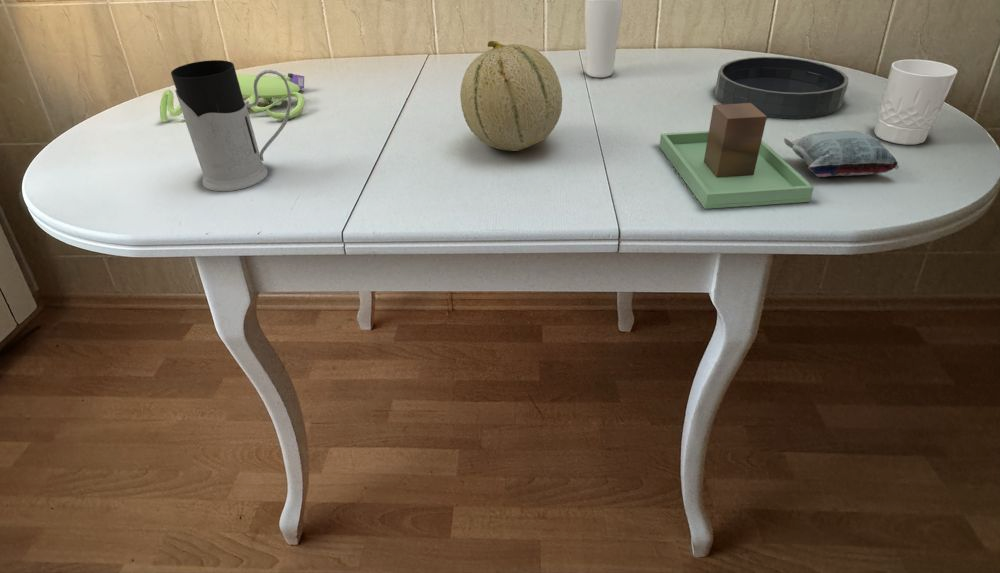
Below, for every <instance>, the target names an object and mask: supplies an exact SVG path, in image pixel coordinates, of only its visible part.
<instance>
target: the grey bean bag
mask: <svg viewBox="0 0 1000 573" xmlns="http://www.w3.org/2000/svg"><path fill="white" fill-rule="evenodd" d="M783 142H784V144H785V145H786V146H787V147H788V148H790V149H792V151H793V152H794V153H795V155H796V156H798V157H799V158H800V159H801V160H802V161H803V162H804V163H805V164H806V165H807V166H808V167H807V170H808V169H809V171H810V172H812V173H813V174H814V176H817V177H819V178H820V177H821V178H822V177H823V178H825V177H838V176H841V177H849V176H867V175H874V174H881V173H887V172H890V171H892V170H898V169H900V165H899V162H898V161H897V159H896V158H895V156H894V155H893V154H892V153H891V152H890V151H889V150H888V148H886V147H885V145H883V144H882V142H881V141H880V140H878V139H876V138H875V137H873V135H870V134H868V133H865V132H860V131H857V130H856V131H855V130H839V131H837V130H836V131H820V132H815V133H810V134H806V135H803V136H798V137H796V138H794V139H787V138H786V137H784V139H783Z"/></svg>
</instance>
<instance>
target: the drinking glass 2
mask: <svg viewBox="0 0 1000 573" xmlns="http://www.w3.org/2000/svg"><path fill="white" fill-rule="evenodd" d="M623 3H624V0H584V35H585V36H584V40H585V42H584V44H585V73H586V75H587V76H588V77H592V78H598V79H599V78H608V77H610V76H612V75H613V73H614V71H615V62H616V61H615V60H616V54H617V47H618V40H619V34H620V29H621V21H622V14H623Z"/></svg>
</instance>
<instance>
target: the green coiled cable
mask: <svg viewBox="0 0 1000 573" xmlns="http://www.w3.org/2000/svg"><path fill="white" fill-rule="evenodd" d="M236 75H237V78H238V82H239V86H240V89H241V93H242V97H243V100H244V101H246V100H248V104H252V103H254V102H255V101H256V97H255V92H254V80H255V78H256V76H257V75H258V74H245V73H236ZM282 75H283V76H284V77H285V79H286V80H287V83H288V86H289V89H290V95H291V98H292V97H294V98H296V100H297V103H296V106H295V107H294V108H293V109H290V114H289V118H288V120H290V119H293V118H296V117H297V116H298V115H300V114H301V113H302V111H303V110H304V108H305V104H306V100H305V97H304V95H303V94H302V93H300V91H301V90H303V89H305V75H300V74H294V73H290V72H288V73H287V75H284V74H282ZM257 92H258V97H259V99H263V100H264V101H265V102H266V103H267V104H268V105H266V106H258V104H257V105H255V106H254V107H250V110H252V111H253V112H255V113H261V112H264V111H266V113H267V115H268V116H270V117H271V118H272V119H275V120H280V121H281V120H282V121H284V118H285V115H286V112H274V111H271V110H270V109H271V108H273V107H274V106H277V107H279V106H280V105H281V104H282V103H283V101H284V100H285V99H288V94H287V87H286V85H285V82H284V80H283V79H282V78H281V77H280V76H278V75H275V76H268V75H262V76H261V77H260V79H259V81H258V83H257ZM174 98H175V97H174V92H173V91H172V90H171V89H166V90H164V91H163V93H162V95H161V99H160V103H159V117H160V120H161V121H162V122H163V123H166V122H168V114H169V115H170V116H171V117H174V118H175V117H178V116H180V115H182V114H183V113H182V110H181V107H180V104H179V103H178V104H179V105H177V106H176V108H174ZM167 112H168V113H167Z"/></svg>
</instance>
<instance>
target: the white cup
mask: <svg viewBox="0 0 1000 573" xmlns="http://www.w3.org/2000/svg"><path fill="white" fill-rule="evenodd" d="M957 74H958V69H956V67H954V66H953V65H950V64H947V63H944V62H939V61H934V60H928V59H916V58H915V59H913V58H912V59H900V60H895V61H893V62H892V63H891V65H890V69H889V72H888V77H887V81H886V82H885V83H886V84H885V87H884V91H883V94H882V98H881V104H880V106H879V110H878V117H877V120H876V124H875V126H874V130H873V133H874V135H875V136H876V137H877V138H879V139H881V140H883V141H886V142H889V143H893V144H898V145H919V144H923V143H924V142H925V141H926V140H927V138H928V136H929V133H930V131H931V128H932V127H933V125H934V124H935V122H936V120H937V117H938V115H939V114H940V112H941V110H942V108H943V105H944V103H945V101H946V98H947V96H948V94H949V92H950V90H951V87H952V85H953V83H954V81H955V78H956V76H957Z"/></svg>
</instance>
